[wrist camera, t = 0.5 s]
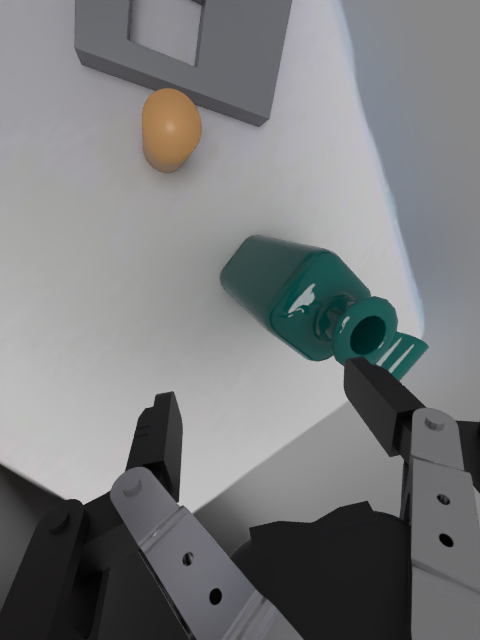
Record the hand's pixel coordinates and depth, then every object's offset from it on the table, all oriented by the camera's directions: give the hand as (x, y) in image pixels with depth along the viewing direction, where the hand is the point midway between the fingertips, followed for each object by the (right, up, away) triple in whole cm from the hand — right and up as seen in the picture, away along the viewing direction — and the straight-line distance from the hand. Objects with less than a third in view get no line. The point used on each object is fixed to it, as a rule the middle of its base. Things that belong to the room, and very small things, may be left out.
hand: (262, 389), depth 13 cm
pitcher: (+2, +9, +26) cm, 28 cm away
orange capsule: (-9, +21, +17) cm, 29 cm away
